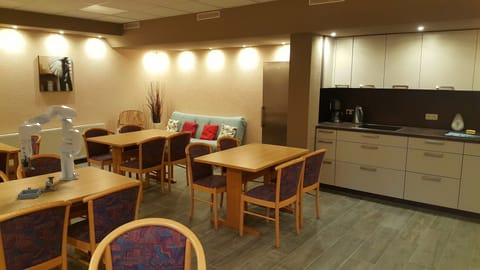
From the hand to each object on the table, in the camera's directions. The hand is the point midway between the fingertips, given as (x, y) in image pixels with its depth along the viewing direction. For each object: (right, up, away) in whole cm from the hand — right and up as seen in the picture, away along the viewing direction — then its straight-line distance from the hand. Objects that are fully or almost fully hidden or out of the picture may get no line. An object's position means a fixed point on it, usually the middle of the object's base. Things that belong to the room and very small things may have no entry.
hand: (27, 165), depth 256 cm
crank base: (+4, -20, +12) cm, 24 cm away
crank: (+7, -17, +18) cm, 26 cm away
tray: (+2, -22, +1) cm, 22 cm away
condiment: (0, -3, +1) cm, 4 cm away
